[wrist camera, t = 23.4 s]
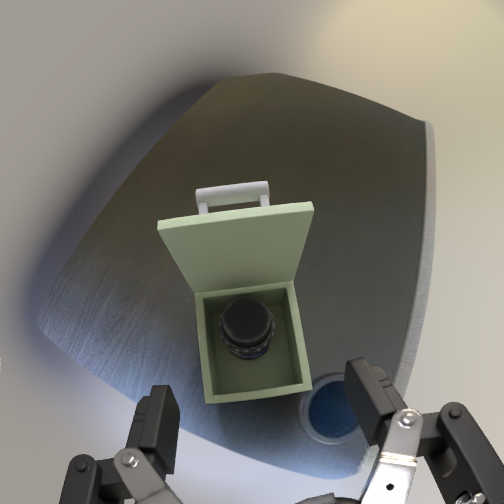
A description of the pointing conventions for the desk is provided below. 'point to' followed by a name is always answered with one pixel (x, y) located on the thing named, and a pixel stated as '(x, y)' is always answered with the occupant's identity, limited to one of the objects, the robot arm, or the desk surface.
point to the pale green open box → (260, 369)
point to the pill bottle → (247, 327)
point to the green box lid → (238, 239)
